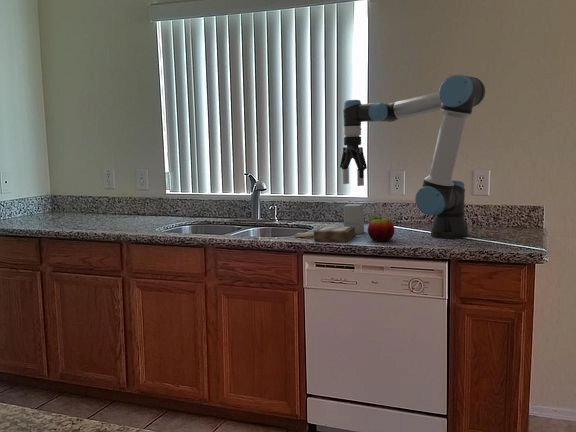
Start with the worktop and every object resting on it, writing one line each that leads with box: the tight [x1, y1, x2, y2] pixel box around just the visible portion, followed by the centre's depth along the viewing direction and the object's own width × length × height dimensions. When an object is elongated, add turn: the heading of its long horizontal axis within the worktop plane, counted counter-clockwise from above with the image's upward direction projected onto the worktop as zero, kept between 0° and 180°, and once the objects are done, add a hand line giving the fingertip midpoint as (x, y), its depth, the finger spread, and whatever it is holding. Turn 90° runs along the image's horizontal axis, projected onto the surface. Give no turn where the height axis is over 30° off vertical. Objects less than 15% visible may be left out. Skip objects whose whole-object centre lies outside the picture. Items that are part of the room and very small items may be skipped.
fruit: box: [367, 215, 395, 243], centre depth 224 cm, size 11×11×10 cm
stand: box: [313, 225, 356, 243], centre depth 232 cm, size 14×14×4 cm
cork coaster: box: [294, 231, 314, 238], centre depth 241 cm, size 10×10×1 cm
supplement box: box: [342, 203, 365, 235], centre depth 245 cm, size 7×7×13 cm
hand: (353, 184), depth 243 cm, fingers open, 13 cm apart
